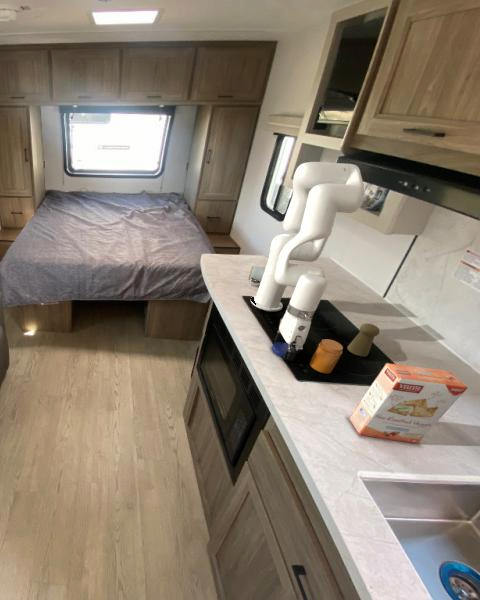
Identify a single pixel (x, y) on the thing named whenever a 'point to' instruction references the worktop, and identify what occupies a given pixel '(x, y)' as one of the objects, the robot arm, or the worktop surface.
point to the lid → (280, 348)
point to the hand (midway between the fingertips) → (282, 351)
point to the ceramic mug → (256, 274)
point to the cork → (363, 340)
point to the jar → (326, 356)
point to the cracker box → (405, 402)
